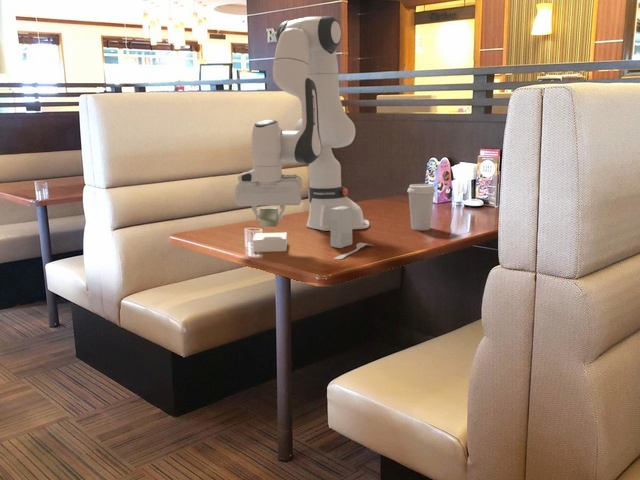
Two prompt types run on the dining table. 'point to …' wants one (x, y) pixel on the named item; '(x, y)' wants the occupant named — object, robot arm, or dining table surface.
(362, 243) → the fork
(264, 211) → the sage cube
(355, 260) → the dining table surface
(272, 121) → the robot arm
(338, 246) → the skincare box
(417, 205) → the coffee cup
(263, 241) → the painted block
